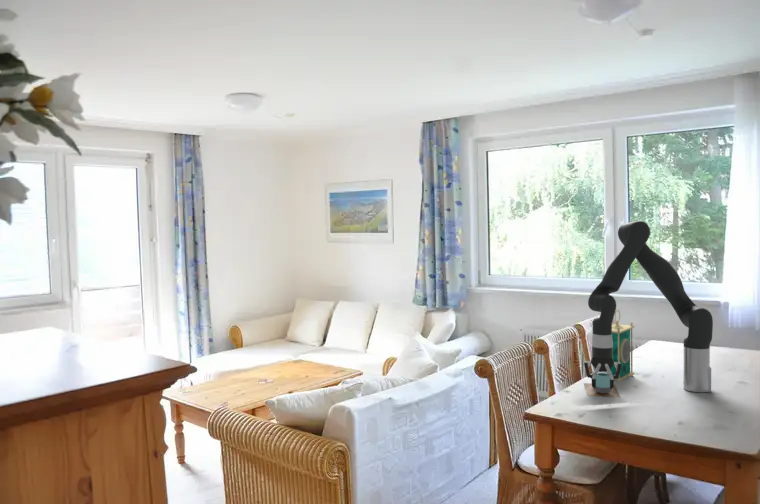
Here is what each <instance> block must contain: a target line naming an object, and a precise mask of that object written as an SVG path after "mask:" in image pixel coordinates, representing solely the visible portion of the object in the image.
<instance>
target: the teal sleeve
mask: <svg viewBox="0 0 760 504" xmlns="http://www.w3.org/2000/svg"><path fill="white" fill-rule="evenodd" d="M595 379H596V389H595V391H596V392H599V393H609V392H610V375H609V374H608V373H597V375H596V377H595Z"/></svg>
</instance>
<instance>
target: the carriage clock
mask: <svg viewBox="0 0 760 504" xmlns="http://www.w3.org/2000/svg"><path fill="white" fill-rule="evenodd" d="M617 312H618V320H617V318H616V314H617ZM620 319H621V311H620V310H619V309H616V311H615V314H614V322H615V323H614V324H612V339H613V361H614V362H617V363H618V362H620V363H621V370H620V374H619V378H618V379H617V378H616V379H614V381H617V382H619V381H622V380H624V379H625V378H628V377H631V378H633V377H634V375H635V374H636V373H635V372H634V371H633V329H634V328H635V325H634V323H633V322H632V321H631V322H630V323H629V325H627V324H619V322H620ZM610 371H611V373H612V375H615V371H616V368H615V365H613V366H612V367H611V369H610ZM607 373H608V372H607Z"/></svg>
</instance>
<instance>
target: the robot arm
mask: <svg viewBox="0 0 760 504" xmlns="http://www.w3.org/2000/svg"><path fill="white" fill-rule="evenodd" d="M650 235H651V229H650V226H649V224H648V223H646V222H645V221H642V220H635V221H631V222H626V223H624V224H621V225H620V227H619V228H618V230H617V236H618V239H619V241H620V242H621V244H622V245H623V247H622V249H621V251H620V252H619V253H618V254H617V256H616V257H615V258H614V260H612V262H611V263H610V265H609V266H608V267H607V269H606V271H605V273H604V275H603V277H602V280H601V282H599V284H598V285H597V286H596V287H595V289H594V290H593V291H592V292H591V294H590V295H589V297H588V301H587V302H588V303H587V305H588V308H589V309H590V310H591V311H593V312H598V313H600V315H599V317H596V318H594V319H593V320H592V336H591V359H590V360H589V361H587V360H584V361H583V365H584V370H585V374H586V377H587V378H590V379H591V383H592V387H594V389H596V379H595V377H596V375H597V373H598V372H601V371H604V372H608V374H609V375H610V389H612V388H613V387H614V383H615V382H614V381H615V380H614V379H616V378H617V379H618V378H619V374H620V370H621V363H620V362H618V363H617V362H614V361H613V339H612V325H613V324H612V323H613V321H614V319H615V312H616V310H617V301H616V299H615V298H614V296H613V295H611V294H612V293H613V294H614V293H617V292H618V291H619V290H620V288H621V286H622V284H623V282H624V279H625V277H626V276H627V274H628V271H629V270H630V267H631V266H632V265H633V263H634V260H635V259H636V260H637V262H638V263H639V264H640V266H641V267H642V268H643V270H644V271H645V273H646V274H647V275H648V276H649V278H650V279H651V281H652V282H653V284H654V285H655V286H656V288H657V289H658V290H659V291H660V293H662V295H663V297H664V298H665V299H666V300H667V301H668V302H669V304H670V305H671V306H672V308H673V310H674V311H675V313H676V315H677V317H678V318H679V321H680V322H681V323H682V324H683V326H684V327H687V328H688V333H687V337H685V338H684V340H683V389H684V390H685V391H688V392H692V393H711V392H712V367H711V361H710V360H711V357H710V355H711V354H710V353H711V352H710V351H711V350H710V349H711V343H712V340H713V329H714V328H713V327H714V323H713V322H714V321H713V320H714V319H713V315H712V312H710V311H709V310H708V309H707V308H704V307H701V306H698V305H696V304H695V302H694V301H693V300H692V299H691V298H690V297H689V296H688V294H687V292H686V291H685V288H684V285H683V281H682V278H681V277H680V275H679V274H678V272H677V270H675V268H674V267H673V265H672V264H671V263H670V262H669V261H668V260H666V258H664V257H663V256H661V255H659V253H656V252H655V251H654V250H653V249H652V248H650V247H649V245H648V244H647V242H648V240H649V239H650ZM591 365H592V367H593V370H592V373H590V370H589V368H590V367H591ZM613 365H615V368H616V371H615V375H612V373H611V371H610V369H611V367H612V366H613Z"/></svg>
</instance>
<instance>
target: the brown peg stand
mask: <svg viewBox="0 0 760 504" xmlns="http://www.w3.org/2000/svg"><path fill="white" fill-rule="evenodd" d="M583 385H584V390H585V393H586V396H587V397H601V398H619V399H620V398H621V395H620V393H619V391H618V389H617V386H616V385H615V384H614V387H613V388H612V389H610V392H609V393H599V392H596V391H595V389H594V387H592V382H591V383H587V382H585V383H583Z"/></svg>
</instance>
